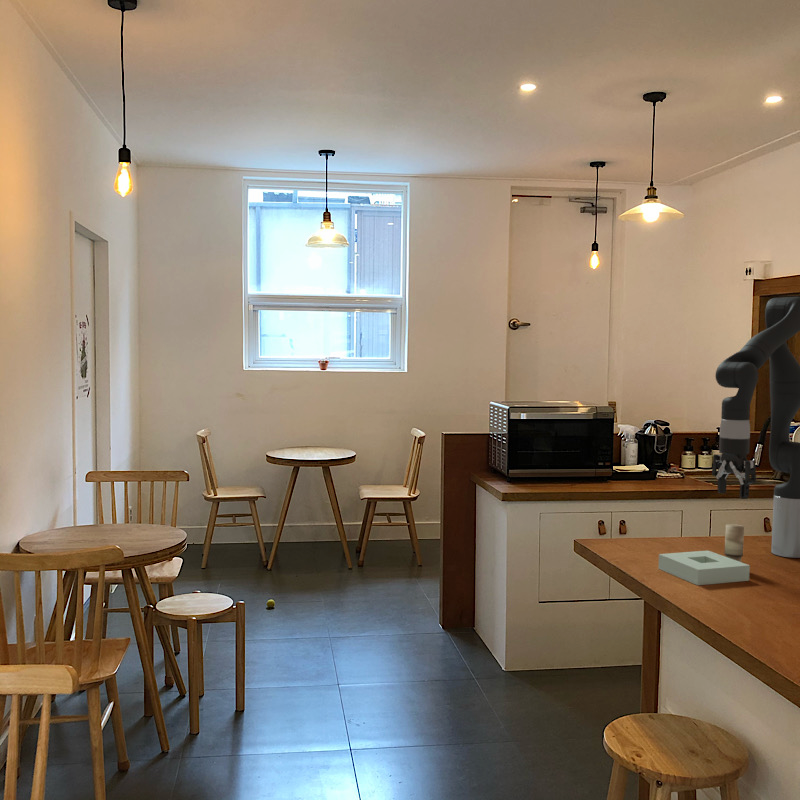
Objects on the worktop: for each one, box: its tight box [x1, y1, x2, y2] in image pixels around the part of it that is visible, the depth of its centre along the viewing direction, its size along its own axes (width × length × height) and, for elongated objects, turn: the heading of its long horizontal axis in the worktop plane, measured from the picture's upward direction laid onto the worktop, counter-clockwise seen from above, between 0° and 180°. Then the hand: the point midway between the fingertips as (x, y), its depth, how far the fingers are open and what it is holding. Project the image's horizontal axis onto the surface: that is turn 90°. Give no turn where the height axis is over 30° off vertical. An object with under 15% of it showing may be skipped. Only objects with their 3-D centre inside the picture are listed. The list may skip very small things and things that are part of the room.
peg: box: [723, 523, 745, 562], centre depth 220 cm, size 5×5×12 cm
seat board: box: [657, 550, 751, 586], centre depth 214 cm, size 16×16×4 cm
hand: (732, 495), depth 219 cm, fingers open, 8 cm apart
